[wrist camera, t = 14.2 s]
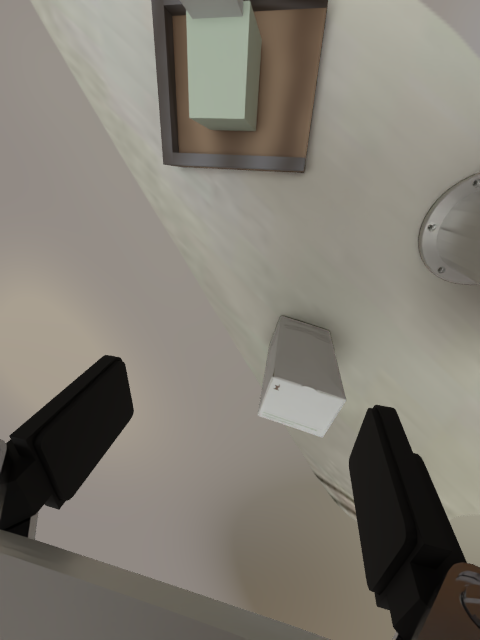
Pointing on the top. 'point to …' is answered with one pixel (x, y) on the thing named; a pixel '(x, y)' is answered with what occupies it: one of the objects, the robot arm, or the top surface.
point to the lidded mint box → (223, 63)
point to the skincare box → (301, 378)
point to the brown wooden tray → (273, 96)
